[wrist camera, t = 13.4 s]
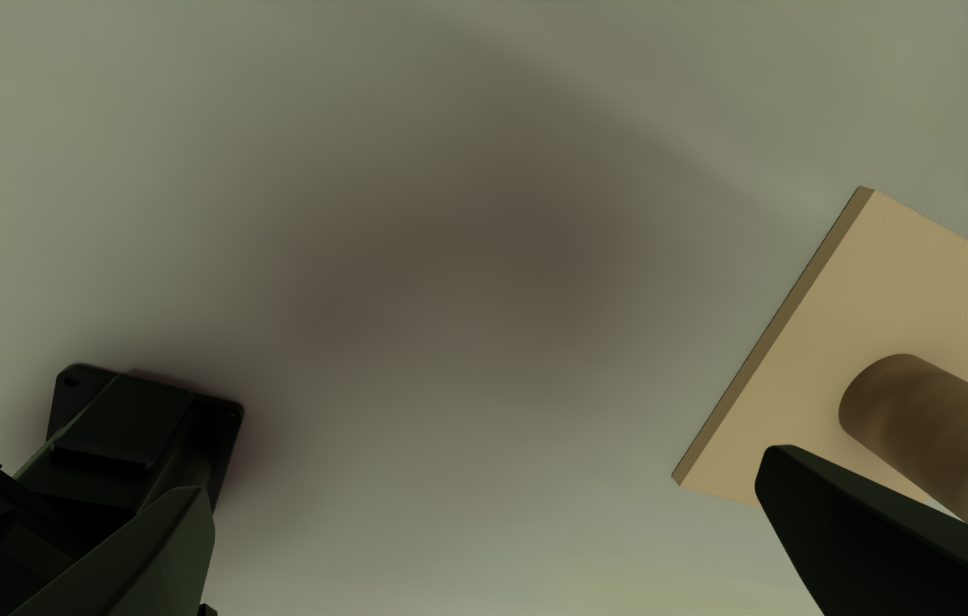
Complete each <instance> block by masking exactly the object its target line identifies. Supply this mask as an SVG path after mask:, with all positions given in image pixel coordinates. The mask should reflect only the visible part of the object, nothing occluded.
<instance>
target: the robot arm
mask: <svg viewBox="0 0 968 616" xmlns="http://www.w3.org/2000/svg"><path fill="white" fill-rule="evenodd" d="M71 376H74V377H77V378H78V379H79V380H80V382H76V381H74V380H73V379H72V378H71ZM225 413H232V414H234V416H235V417H228V416H226V414H225ZM243 417H244V409H243V407H242V406H241V405H239V404H237V403H235V402H231V401H227V400H223V399H219V398H215V397H210V396H206V395H202V394H198V393H194V392H190V391H189V390H186V389H182V388H177V387H173V386H169V385H165V384H161V383H157V382H153V381H148V380H144V379H140V378H136V377H132V376H128V375H123V374H122V375H119V374H115V373H111V372H107V371H102V370H98V369H94V368H90V367H86V366H82V365H70V366H68V367H66V368H65V369H64V370H63V371H61V372H60V373H59V374H58V376H57V378H56V384H55V390H54V396H53V402H52V407H51V413H50V419H49V425H48V431H47V437H46V442H45V444H44V445H43V446H42V447H41V448H40V449H39V450H38V451H37V452H36V453H35V454H34V455H33V456H32V457H31V458H30V459H29V460H28V461H27V462H26V463H25V464H24V465H23V466H22V467H21V468H20V469H19V470H18V471H17V472H16V473H15V474H14V475H13V476H12V477H10V476H9V475H7V474H6V473H5V472H3V471H2V470H0V616H217V611H216V610H214V609H213V608H211V607H210V606H208V605H207V604H205V603H204V604H201V605H200V600H201V596H202V592H203V588H204V584H205V580H206V576H207V572H208V568H209V564H210V559H211V555H212V551H213V547H214V542H215V526H214V521H213V514H214V511H215V507H216V504H217V501H218V498H219V494H220V491H221V488H222V485H223V482H224V478H225V475H226V472H227V469H228V466H229V462H230V459H231V456H232V453H233V450H234V446H235V443H236V440H237V437H238V433H239V430H240V427H241V424H242V421H243ZM1 467H2V465H1V464H0V468H1ZM754 489H755V494H756V497H757V499H758V501H759V503H760V504H761V506H762V508H763V510H764V512H765V514H766V516H767V517H768V519H769V521H770V523H771V525H772V527H773V528H774V530H775V532H776V534H777V536H778V538H779V540H780V541H781V543H782V545H783V547H784V549H785V551H786V553H787V554H788V556H789V558H790V560H791V562H792V564H793V565H794V567H795V569H796V571H797V573H798V574H799V576H800V578H801V580H802V581H803V583H804V585H805V586H806V588H807V590H808V591H809V593H810V594H811V596H812V597H813V599H814V601H815V602H816V604H817V605H818V607H819V608H820V610H821V611H822V613H823V614H824V616H968V524H967V523H965V522H962V521H960V520H958V519H956V518H954V517H951V516H949V515H947V514H945V513H943V512H940V511H938V510H936V509H934V508H932V507H929V506H927V505H925V504H923V503H921V502H918V501H916V500H914V499H912V498H910V497H907V496H905V495H903V494H901V493H899V492H897V491H894V490H892V489H890V488H888V487H886V486H883V485H881V484H879V483H877V482H875V481H872V480H870V479H868V478H866V477H864V476H861V475H859V474H857V473H855V472H853V471H850V470H848V469H846V468H844V467H842V466H840V465H837V464H835V463H833V462H831V461H829V460H826V459H824V458H822V457H820V456H818V455H815V454H813V453H811V452H809V451H807V450H804V449H802V448H800V447H798V446H795V445H791V444H784V445H772V446H769V447H768V448H767V449H766V450H765V451H764V454H763V457H762V460H761V463H760V466H759V470H758V473H757V476H756V479H755V483H754Z"/></svg>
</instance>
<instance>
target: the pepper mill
mask: <svg viewBox="0 0 968 616" xmlns="http://www.w3.org/2000/svg"><path fill="white" fill-rule="evenodd" d="M838 416H839V422H840V425H841V427H842V428H843V430H844V431H845V432H846V433H847V434H849V435H850V436H851V437H853V438H854V439H855V440H857V441H858V442H859V443H861V444H862V445H863V446H865V447H866V448H867V449H869V450H870V451H871V452H873V453H874V454H875V455H877V456H878V457H879V458H880V459H882V460H883V461H884V462H886V463H887V464H888V465H890V466H891V467H892V468H894V469H895V470H896V471H898V472H899V473H900V474H902V475H903V476H904V477H906V478H907V479H908V480H910V481H911V482H912V483H914V484H915V485H916V486H918V487H919V488H920V489H922V490H923V491H924V492H926V493H927V494H928V495H930V496H931V497H932V498H934V499H935V500H936V501H938V502H939V503H940V504H942V505H943V506H944V507H946V508H947V509H948V510H950V511H951V512H952V513H954V514H955V515H956V516H957V517H959V518H960V519H961V520H963V521H964V522H965V523H967V524H968V382H966V381H964V380H962V379H960V378H959V377H957V376H955V375H953V374H951V373H949V372H947V371H945V370H943V369H941V368H939V367H937V366H935V365H933V364H931V363H929V362H927V361H925V360H923V359H921V358H919V357H917V356H914V355H911V354H895V355H891V356H888V357H885V358H882V359H880V360H878V361H876V362H874V363H873V364H871V365H870V366H868V367H867V368H865V369H864V370H863V371H862V372H861V373H860V374H858V375H857V376H856V377H855V379H854V380H853V381H852V382H851V383H850V385H849V386H848V388H847V389H846V391H845V393H844V395H843V397H842V399H841V402H840V405H839V413H838Z"/></svg>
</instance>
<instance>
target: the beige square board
mask: <svg viewBox="0 0 968 616" xmlns="http://www.w3.org/2000/svg"><path fill="white" fill-rule="evenodd" d="M895 354H911V355H914V356H917V357H919V358H921V359H923V360H925V361H927V362H929V363H931V364H933V365H935V366H937V367H939V368H941V369H943V370H945V371H947V372H949V373H951V374H953V375H955V376H957V377H959V378H960V379H962V380H964V381H966V382H968V241H967V240H965V239H964V238H962V237H960V236H958V235H956V234H955V233H953V232H951V231H949V230H947V229H945V228H944V227H942V226H940V225H938V224H936V223H935V222H933V221H931V220H929V219H927V218H925V217H924V216H922V215H920V214H918V213H916V212H915V211H913V210H911V209H909V208H907V207H905V206H904V205H902V204H900V203H898V202H896V201H895V200H893V199H891V198H889V197H887V196H885V195H884V194H882V193H880V192H878V191H876V190H873V189H868V188H864V187H859V188H858V189H857V191H856V192H855V194H854V195H853V197H852V198H851V200H850V202H849V203H848V205H847V206H846V208H845V209H844V211H843V212H842V214H841V215H840V217H839V218H838V220H837V222H836V223H835V225H834V226H833V228H832V229H831V231H830V232H829V234H828V235H827V237H826V239H825V240H824V242H823V243H822V245H821V246H820V248H819V249H818V251H817V252H816V254H815V255H814V257H813V259H812V260H811V262H810V263H809V265H808V266H807V268H806V269H805V271H804V272H803V274H802V276H801V277H800V279H799V280H798V282H797V283H796V285H795V286H794V288H793V289H792V291H791V292H790V294H789V296H788V297H787V299H786V300H785V302H784V303H783V305H782V306H781V308H780V309H779V311H778V312H777V314H776V316H775V317H774V319H773V320H772V322H771V323H770V325H769V326H768V328H767V329H766V331H765V333H764V334H763V336H762V337H761V339H760V340H759V342H758V343H757V345H756V346H755V348H754V349H753V351H752V353H751V354H750V356H749V357H748V359H747V360H746V362H745V363H744V365H743V366H742V368H741V370H740V371H739V373H738V374H737V376H736V377H735V379H734V380H733V382H732V383H731V385H730V386H729V388H728V390H727V391H726V393H725V394H724V396H723V397H722V399H721V400H720V402H719V403H718V405H717V407H716V408H715V410H714V411H713V413H712V414H711V416H710V417H709V419H708V420H707V422H706V423H705V425H704V427H703V428H702V430H701V431H700V433H699V434H698V436H697V437H696V439H695V440H694V442H693V444H692V445H691V447H690V448H689V450H688V451H687V453H686V454H685V456H684V457H683V459H682V460H681V462H680V464H679V465H678V467H677V468H676V470H675V471H674V473H673V474H672V477H673V478H674V480H675V481H676V482H677V484H678V485H679V487H683V488H687V489H691V490H695V491H699V492H703V493H707V494H711V495H714V496H718V497H722V498H726V499H730V500H734V501H738V502H742V503H746V504H749V505H753V506H757V507H761V508H762V506H761V504H760V503H759V501H758V499H757V497H756V494H755V489H754V483H755V479H756V476H757V473H758V470H759V466H760V463H761V460H762V457H763V454H764V451H765V450H766V449H767V448H768V447H769V446H772V445H784V444H791V445H795V446H798V447H800V448H802V449H804V450H807V451H809V452H811V453H813V454H815V455H818V456H820V457H822V458H824V459H826V460H829V461H831V462H833V463H835V464H837V465H840V466H842V467H844V468H846V469H848V470H850V471H853V472H855V473H857V474H859V475H861V476H864V477H866V478H868V479H870V480H872V481H875V482H877V483H879V484H881V485H883V486H886V487H888V488H890V489H892V490H894V491H897V492H899V493H901V494H903V495H905V496H907V497H910V498H912V499H914V500H916V501H918V502H921V503H923V504H924V503H925V501H926V500H927V499H928V498H929V497H930V495H928V494H927V493H926V492H924V491H923V490H922V489H920V488H919V487H918V486H916V485H915V484H914V483H912V482H911V481H910V480H908V479H907V478H906V477H904V476H903V475H902V474H900V473H899V472H898V471H896V470H895V469H894V468H892V467H891V466H890V465H888V464H887V463H886V462H884V461H883V460H882V459H880V458H879V457H878V456H877V455H875V454H874V453H873V452H871V451H870V450H869V449H867V448H866V447H865V446H863V445H862V444H861V443H859V442H858V441H857V440H855V439H854V438H853V437H851V436H850V435H849V434H847V433H846V432H845V431H844V430H843V428H842V427H841V425H840V422H839V416H838V413H839V405H840V402H841V399H842V397H843V395H844V393H845V391H846V389H847V388H848V386H849V385H850V383H851V382H852V381H853V380H854V379H855V377H856V376H857V375H858V374H860V373H861V372H862V371H863V370H864V369H865V368H867V367H868V366H870V365H871V364H873V363H874V362H876V361H878V360H880V359H882V358H885V357H888V356H891V355H895Z"/></svg>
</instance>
